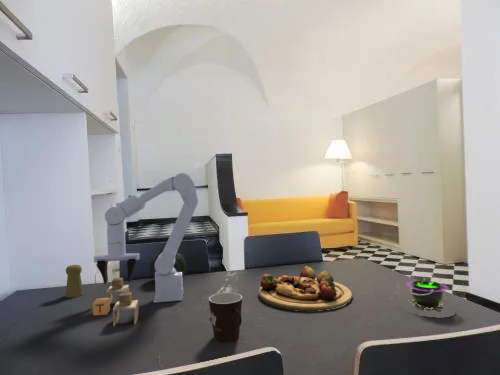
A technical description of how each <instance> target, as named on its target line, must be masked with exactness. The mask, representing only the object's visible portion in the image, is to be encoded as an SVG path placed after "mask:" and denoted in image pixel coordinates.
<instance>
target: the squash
mask: <svg viewBox="0 0 500 375" xmlns="http://www.w3.org/2000/svg"><path fill="white" fill-rule="evenodd" d="M164 248H165V247H162V248H161V249H160V250H159V251H158V252H157V253H156V254H155V255H154V256H153V258H152V259H151V260H150V264H149V271H150V274H151V277H152V278H153V279H154V280H155V272H156V270H155V262H156V260H157V259H158V256H159V255H160V254H161V253H162V252H163V250H164ZM174 268H175V269H176V272H182V279H183V278H184V276H185V275H186V272H187V264H186V260H185V257H184V256H183V255H182V254H181V253H179V252H178V251H177V253H176V256H175V263H174Z"/></svg>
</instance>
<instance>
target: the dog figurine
mask: <svg viewBox="0 0 500 375" xmlns="http://www.w3.org/2000/svg"><path fill="white" fill-rule="evenodd" d="M238 281H239V278H238V273H237V272H233V273H232V274H231V272H230V271H226V273H225V276H224V283H223V285H222V286H221V287H220V289H219V290H217V291H216V292H215V294H219V293H237V294H239V293H238V292H239V291H238V287H237V284H238Z"/></svg>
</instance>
